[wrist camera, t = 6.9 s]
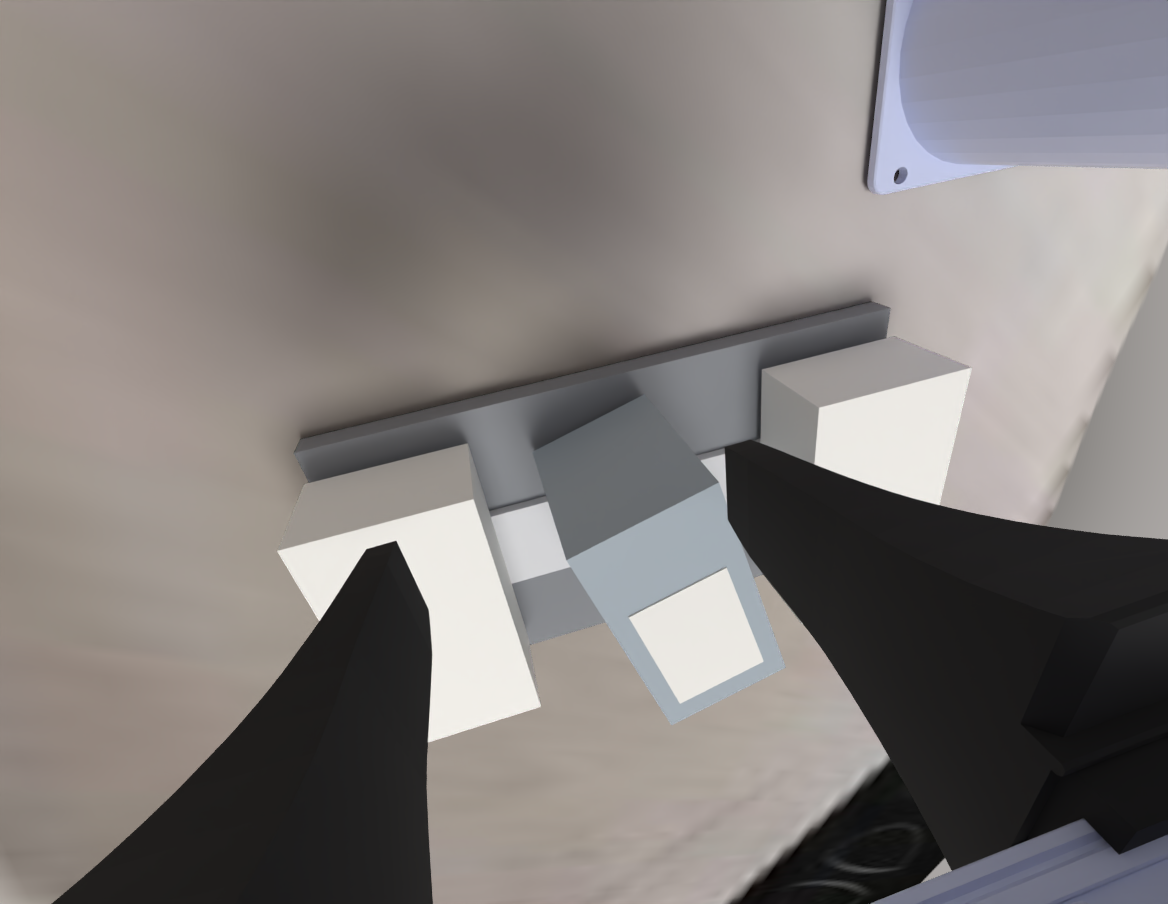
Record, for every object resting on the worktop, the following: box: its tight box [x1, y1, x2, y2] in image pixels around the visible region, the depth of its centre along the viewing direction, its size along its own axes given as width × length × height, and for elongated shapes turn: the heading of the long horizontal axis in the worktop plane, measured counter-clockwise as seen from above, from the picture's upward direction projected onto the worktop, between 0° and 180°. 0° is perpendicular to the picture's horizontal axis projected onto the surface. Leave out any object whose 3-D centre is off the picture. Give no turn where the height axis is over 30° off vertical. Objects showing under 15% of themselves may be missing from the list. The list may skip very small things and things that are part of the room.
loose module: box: [532, 395, 786, 725], centre depth 19 cm, size 4×9×6 cm, turn 24°
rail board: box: [277, 302, 972, 742], centre depth 21 cm, size 22×12×5 cm, turn 99°
